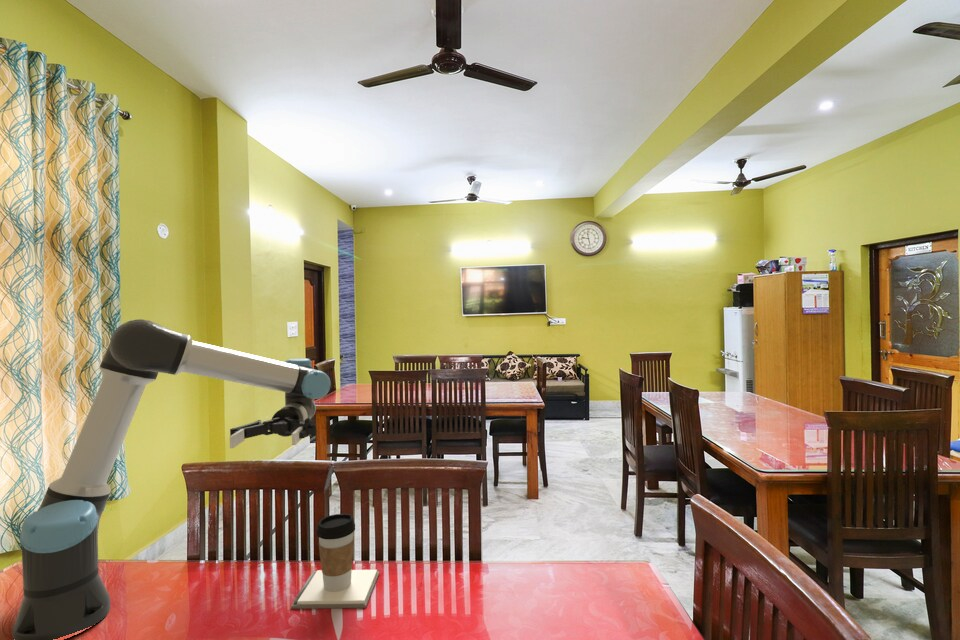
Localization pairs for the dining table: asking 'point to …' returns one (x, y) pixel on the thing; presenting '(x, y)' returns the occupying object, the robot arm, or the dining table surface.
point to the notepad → (347, 598)
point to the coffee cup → (336, 550)
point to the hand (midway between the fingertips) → (262, 440)
